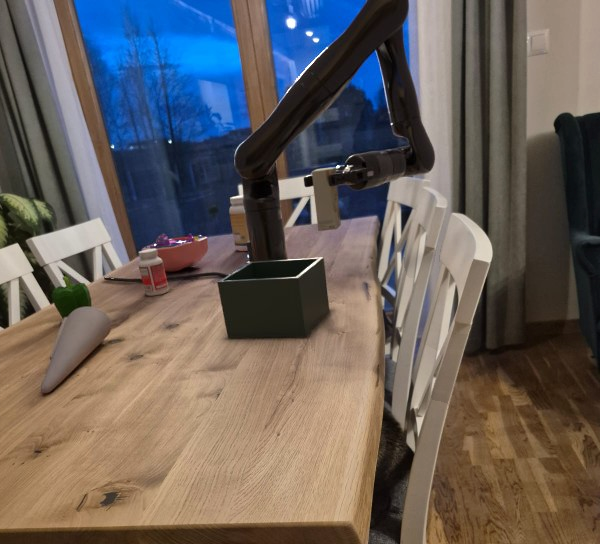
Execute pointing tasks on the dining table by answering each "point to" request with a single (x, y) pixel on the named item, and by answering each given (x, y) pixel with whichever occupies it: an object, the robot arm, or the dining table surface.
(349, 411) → the dining table surface
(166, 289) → the pill bottle
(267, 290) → the trash bin
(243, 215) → the supplement tub
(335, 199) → the cosmetic box
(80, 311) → the grey cone
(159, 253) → the cell model
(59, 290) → the bell pepper
